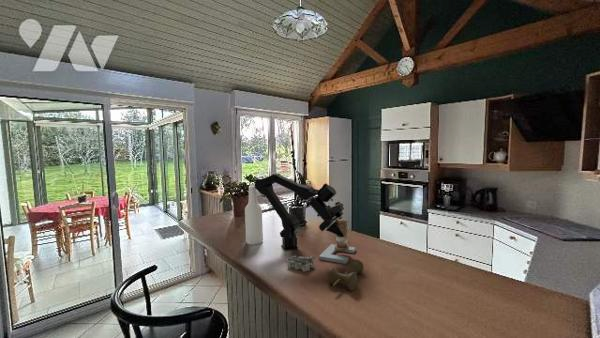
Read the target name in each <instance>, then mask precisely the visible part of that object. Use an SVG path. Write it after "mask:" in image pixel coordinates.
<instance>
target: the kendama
mask: <svg viewBox="0 0 600 338" xmlns="http://www.w3.org/2000/svg"><path fill="white" fill-rule="evenodd" d="M363 271H364V264H363V262H362V261H361V260H359V259H353V260H352V261H351V262H350V263H349V264H348V265H347V267H346V270H345V272H344V273H341V272H340V271H338V270H337V269H336V268H334V267H331V268H330V269H328V272H327V277H326V280H327V283H328V284H329V285H332V286H333V287H335V286H337V285H339V284H340V285H341V284H342V285H345V286H346V287H347V288H348V290H349V291H351V292H353V291H354V290H355V289H356V287H357V285H358V275H359V274H360V273H362V272H363Z"/></svg>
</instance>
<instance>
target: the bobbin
mask: <svg viewBox="0 0 600 338" xmlns="http://www.w3.org/2000/svg"><path fill="white" fill-rule="evenodd" d="M336 221H337V226H338V228H339V229H340V230H341V232H342V233H343V235H344V236H343V237H341V236H338V235H336V234H335V236H336V237H335V239H336V240H335V244H334V245H335V250H337V251H336V252H340V251H348V250H349V247H350V245H349V244H348V220H347V219H345V218H344V219H343V218H342V219H338V220H336Z"/></svg>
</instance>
